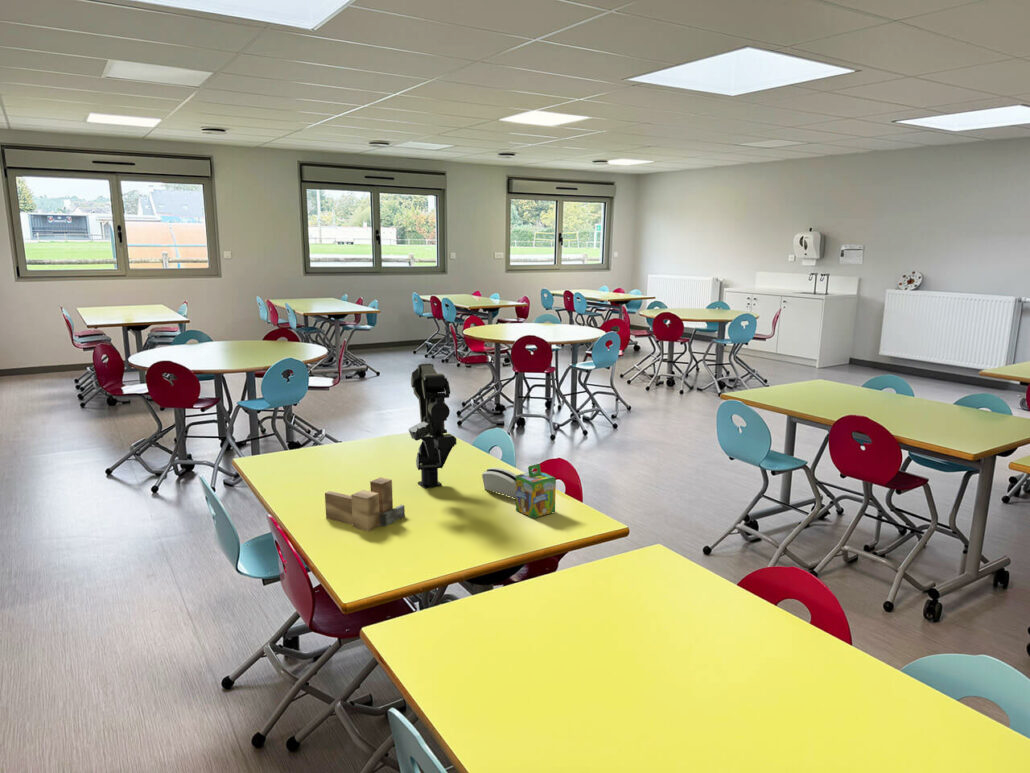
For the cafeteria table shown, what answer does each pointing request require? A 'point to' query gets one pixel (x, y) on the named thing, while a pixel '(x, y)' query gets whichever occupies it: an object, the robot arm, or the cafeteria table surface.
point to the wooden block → (383, 493)
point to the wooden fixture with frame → (360, 510)
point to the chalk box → (535, 492)
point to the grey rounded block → (500, 481)
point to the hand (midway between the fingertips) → (436, 461)
